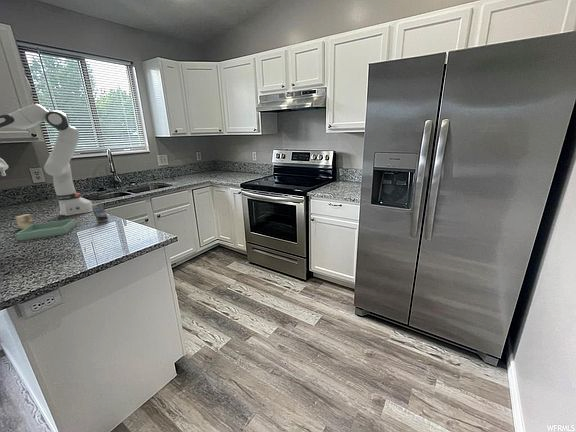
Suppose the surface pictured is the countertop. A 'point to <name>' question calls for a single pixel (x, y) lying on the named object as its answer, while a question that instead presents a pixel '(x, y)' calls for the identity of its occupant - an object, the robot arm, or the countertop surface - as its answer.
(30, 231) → the tray
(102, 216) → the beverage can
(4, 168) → the robot arm
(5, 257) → the countertop surface
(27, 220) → the maple block
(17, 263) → the countertop surface
